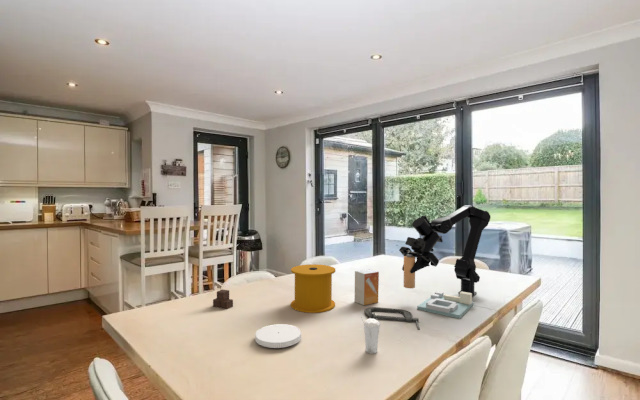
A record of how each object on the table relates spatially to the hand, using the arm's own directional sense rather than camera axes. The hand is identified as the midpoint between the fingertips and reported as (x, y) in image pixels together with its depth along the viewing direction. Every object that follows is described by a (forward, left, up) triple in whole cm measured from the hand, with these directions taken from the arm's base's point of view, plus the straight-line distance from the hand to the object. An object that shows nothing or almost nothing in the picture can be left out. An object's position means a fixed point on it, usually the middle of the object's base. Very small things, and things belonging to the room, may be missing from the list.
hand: (406, 271), depth 138 cm
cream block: (-12, +17, -12) cm, 24 cm away
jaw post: (-1, +1, -7) cm, 7 cm away
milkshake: (+47, +9, -14) cm, 49 cm away
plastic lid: (+58, -17, -14) cm, 62 cm away
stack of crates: (+48, -56, -14) cm, 76 cm away
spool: (+26, -29, -14) cm, 41 cm away
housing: (-6, +14, -13) cm, 20 cm away
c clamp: (+18, +2, -14) cm, 23 cm away
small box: (+9, -14, -14) cm, 21 cm away
